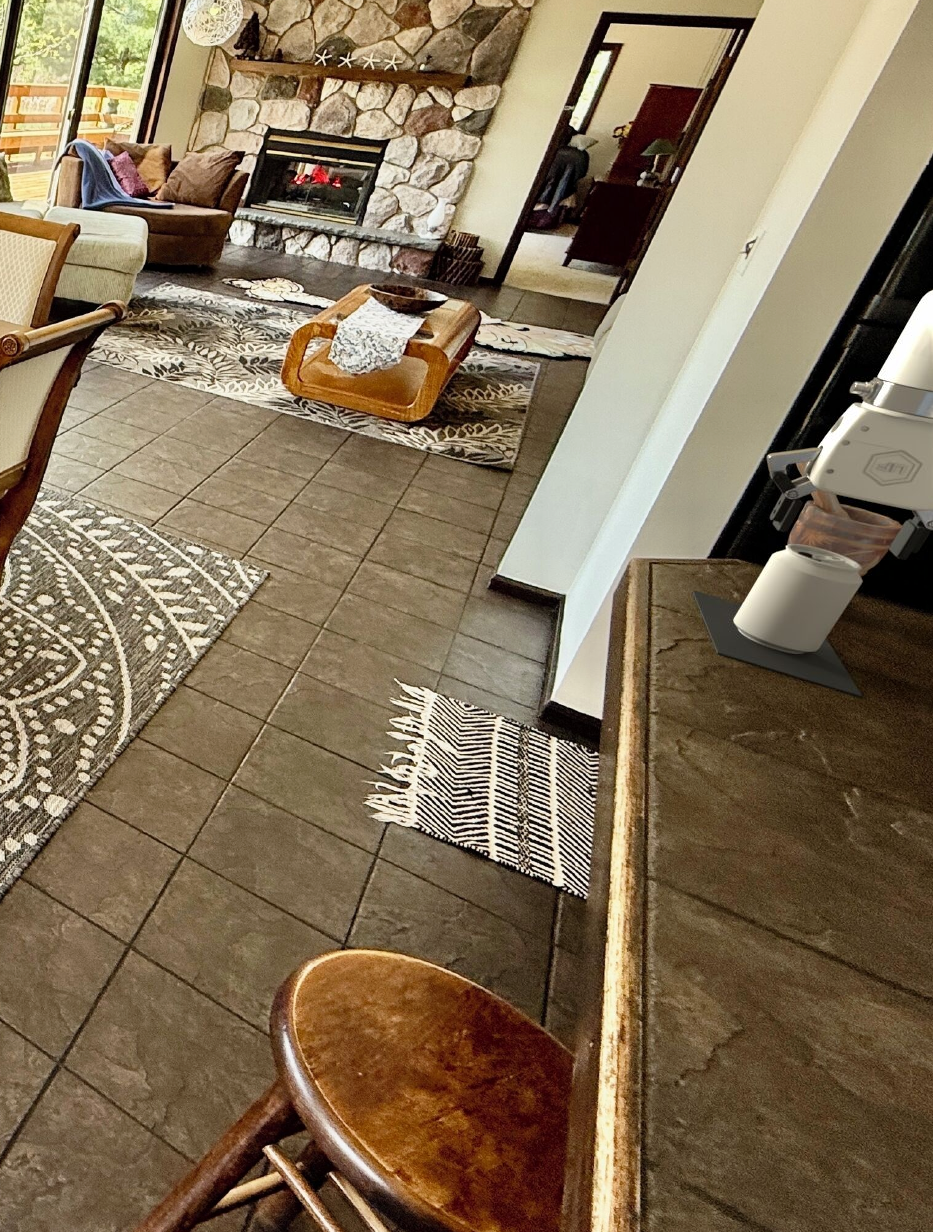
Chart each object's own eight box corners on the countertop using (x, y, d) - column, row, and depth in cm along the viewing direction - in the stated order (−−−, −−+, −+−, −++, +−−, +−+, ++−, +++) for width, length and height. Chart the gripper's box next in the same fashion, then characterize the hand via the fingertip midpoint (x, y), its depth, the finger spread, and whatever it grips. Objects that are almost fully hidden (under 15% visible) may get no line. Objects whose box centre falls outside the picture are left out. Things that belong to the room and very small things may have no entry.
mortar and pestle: (731, 590, 125) (810, 456, 117) (722, 568, 131) (796, 440, 123) (853, 624, 118) (945, 484, 110) (837, 599, 125) (923, 466, 117)
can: (722, 616, 117) (771, 533, 113) (803, 638, 114) (857, 553, 109) (738, 641, 112) (790, 555, 107) (823, 665, 108) (882, 577, 103)
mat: (816, 625, 117) (817, 624, 117) (861, 697, 103) (862, 696, 102) (691, 591, 124) (692, 589, 124) (717, 653, 109) (718, 652, 109)
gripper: (815, 390, 102) (741, 527, 109) (1056, 431, 93) (959, 578, 99) (799, 378, 108) (729, 509, 114) (1024, 415, 99) (934, 555, 105)
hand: (836, 541), depth 107 cm, fingers open, 9 cm apart
